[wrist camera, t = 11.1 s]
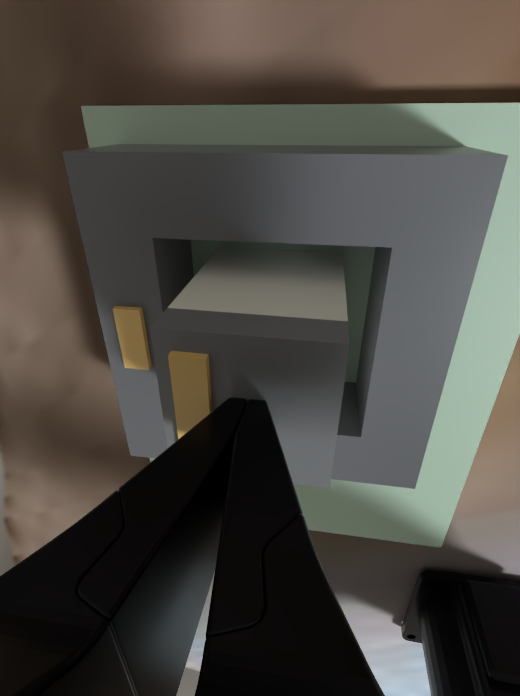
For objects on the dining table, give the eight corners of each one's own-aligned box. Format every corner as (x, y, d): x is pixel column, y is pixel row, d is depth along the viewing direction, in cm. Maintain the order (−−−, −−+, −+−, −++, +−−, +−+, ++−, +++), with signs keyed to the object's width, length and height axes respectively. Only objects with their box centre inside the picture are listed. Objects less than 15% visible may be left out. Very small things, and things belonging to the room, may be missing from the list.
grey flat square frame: (401, 428, 16) (416, 493, 13) (160, 404, 17) (128, 459, 14) (466, 146, 11) (511, 156, 8) (118, 143, 12) (56, 152, 9)
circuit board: (437, 532, 20) (441, 547, 19) (164, 497, 21) (159, 509, 21) (586, 102, 11) (604, 102, 10) (94, 106, 12) (80, 105, 12)
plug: (330, 359, 15) (329, 495, 9) (224, 350, 15) (167, 474, 10) (342, 252, 13) (350, 349, 7) (220, 246, 13) (145, 332, 8)
